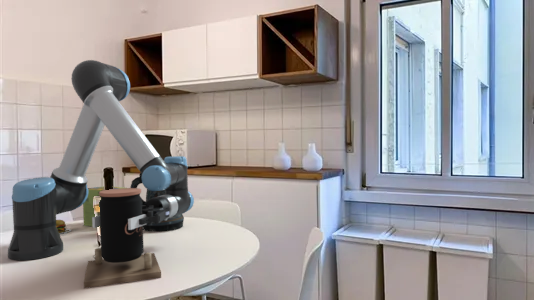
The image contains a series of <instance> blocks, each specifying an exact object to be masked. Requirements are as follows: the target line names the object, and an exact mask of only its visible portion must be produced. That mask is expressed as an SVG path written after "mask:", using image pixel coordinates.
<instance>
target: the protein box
mask: <svg viewBox="0 0 534 300" xmlns="http://www.w3.org/2000/svg"><path fill="white" fill-rule="evenodd" d="M113 187H114V189H119V188H124V187H121V186H120V187H119V186H113ZM87 188H88V197H87V199H86V201H85V202H84V204H83V205H82V209H83V210H82V212H83V226H86V227H91V228H93V225H92V217H95V214H94V208H93V197H94V196H99V192H100V191H103V190H104V186H97V187H96V186H95V187H87Z"/></svg>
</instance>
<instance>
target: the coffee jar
mask: <svg viewBox="0 0 534 300" xmlns="http://www.w3.org/2000/svg"><path fill="white" fill-rule="evenodd" d="M141 194H142V189H141V188H138V187H137V188H130V187H123V188H119V189H109V190H103V191H100V192H99V196H100V197H101V200H100V202H99V207H100V228H99V229H100V231H99V232H100V248H101V256H102V259H104V260H105V261H106V262H111V263H120V262H127V261H132V260H135V259H138V258H139V257H141V255H142V254H144V250H145V249H144V230H143V226H140V227H138V228H135V229H132V230H128V219H130V218H133V217H137V216H140V215H142V199H143V198H142V197H141V196H140V195H141Z"/></svg>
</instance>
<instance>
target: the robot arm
mask: <svg viewBox="0 0 534 300" xmlns="http://www.w3.org/2000/svg"><path fill="white" fill-rule="evenodd" d="M71 85H72V88H73V89H74V92H75V93H76V94H77V96H78V98H79V99H80V100H81V101H82V103H83V105H82V108H81V110H80V113H79V116H78V118H77V119H76V120H77V121H76V123H75V126H74V128H73V131H72V133H71V136H70V138H69V142H68V144H67V147H66V149H65V152H64V155H63V157H62V159H61V161H60V165H59V166H58V167H56V168H54V169H52V171H51V173H50V177H48V176H47V177H46V176H45V177H43V176H42V177H41V176H40V177H34V178H28V179H23V180H21V181H18V182H16V183H15V184H14V185H13V186H12V192H11V193H12V195H11V201H12V219H13V220H12V221H13V234H12V236H11V240H10V242H9V245H8V248H7V258H8V259H9V260H14V261H30V260H36V259H37V260H39V259H43V258H48V257H51V256H52V257H53V256H55V255H58V254H60V253H61V252H63V251H64V243H63V240H62V237H61V234H59V232H58V229H57V227H56V220H57V215H60V214H64V213H67V212H71V211H74V210H76V209H78V208H80V207H81V206H83V204H84V202H85V201H86V199H87V197H88V188H89V187H88V181H89V179H88V177H87V176H86V174H87V171H88V169H89V166H90V164H91V161H92V158H93V156H94V153H95V151H96V149H97V146H98V143H99V141H100V138H101V136H102V134H103V131H104V127H106V128H107V130H108V131H109V133H110V134H111V135H112V137H113V138H114V139H115V141H116V142H117V143H118V144H119V145H120V147H121V148H122V150H123V151H124V152H125V153H126V155H127V157H128V158H129V159H130V160H131V162H132V163H133V164H134V165H135V166H136V167H135V168H137V169H138V171H139V172H140V173H142V183H141V184H142V185H143V186H144V188H145V189H146V190H147V189H148V190H150V191H161V190H164V189H165V195H162V196H158V197H154V198H151V199H148V200H147V201H146V200H145V201H146V202H145V204H144V205H142V215H140V216H137V217H133V218H130V219H128V230H132V229H135V228H138V227H140V226H143V225H146V223H147V224H152V222H153V223H155V224H158V223H160V222H161V221H163V220H165V221H166V220H167V219H168V218H170V217H173V216H176V215H179V214H182V215H183V214H185V213H187V212H188V211H190V210H191V209H192V208H193V207H194V203H195V199H194V196H193V194H192V193H191V192H190V191H189V186H188V185H189V183H188V180H189V179H188V177H189V176H188V168H189V166H188V160H187V158H186V156H183V155H182V156H178V155H177V156H174V155H173V156H166V157H164V158H163V157H161V155H160V154H159V153H158V151H157V150H156V148H155V147H154V146H153V144H152V143H151V142H150V141H149V139H148V137H146V135H145V134H144V133H143V132H142V130H141V129H140V127H139V126H138V124H136V122H135V121H134V120H133V118H132V117H131V116H130V114H129V112H128V111H127V110H126V109H125V108H124V106H123V105H122V104H121V101H123V100H125V99H126V98H127V97H128V95H129V93H130V90H131V82H130V80H129V75H127V74H126V72H125V71H123V70H122V69H120V68H118V67H117V66H114V65H110V64H107V63H104V62H100V61H98V60H95V59H87V60H84V61H81V62H80V63H78V64H77V65H76V66H75V67H74V68H73V70H72V73H71ZM92 225H93V227H92V229H93V228H94V229H95V228H97V227H99V226H100V215H99V216H96V217H92Z"/></svg>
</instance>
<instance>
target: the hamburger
mask: <svg viewBox="0 0 534 300" xmlns="http://www.w3.org/2000/svg"><path fill="white" fill-rule="evenodd" d="M56 227H57V229H58V232H59V234H60V235H64V234H67V232H68V233H70V232H71V231H72V229H71V228H67V224H66V221H65V220H63V219H56ZM68 230H69V231H68ZM62 232H63V233H64V234H63V233H62Z"/></svg>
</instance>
